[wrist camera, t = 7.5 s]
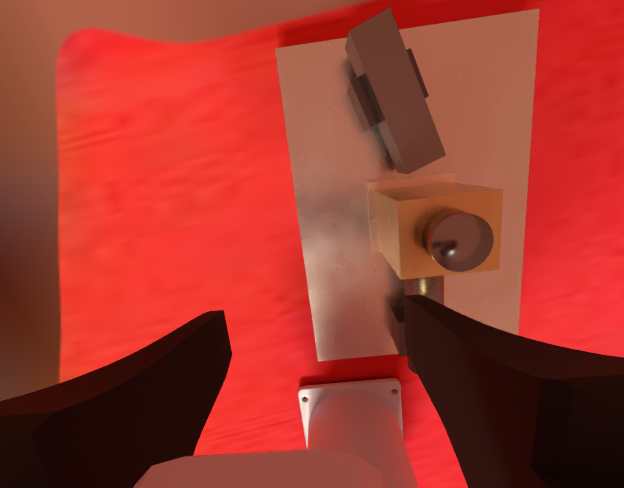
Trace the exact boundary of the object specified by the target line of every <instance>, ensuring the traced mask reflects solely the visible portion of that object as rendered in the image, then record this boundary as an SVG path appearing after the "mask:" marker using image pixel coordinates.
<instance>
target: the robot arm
mask: <svg viewBox="0 0 624 488" xmlns="http://www.w3.org/2000/svg"><path fill="white" fill-rule="evenodd" d="M404 328H405V344H406V347H407V350H408V353H409V355H410V358H411V361H412V364H413V366H414V368H415V370H416V372H417V374H418V376H419V378H420V379H421V381H422V383H423V385H424V387H425V389H426V391H427V393H428V395H429V397H430V399H431V401H432V403H433V404H434V406H435V408H436V410H437V412H438V414H439V416H440V418H441V420H442V422H443V425H444V427H445V429H446V431H447V434H448V436H449V439H450V441H451V444H452V446H453V449H454V451H455V454H456V456H457V459H458V461H459V464H460V467H461V469H462V472H463V474H464V477H465V480H466V482H467V485H468V488H624V358H622V357H615V356H607V355H601V354H596V353H590V352H585V351H580V350H574V349H569V348H565V347H560V346H556V345H552V344H548V343H544V342H540V341H536V340H532V339H528V338H525V337H522V336H518V335H515V334H512V333H509V332H506V331H503V330H500V329H497V328H494V327H492V326H489V325H486V324H484V323H481V322H479V321H477V320H474V319H472V318H470V317H467V316H465V315H463V314H461V313H459V312H456V311H454V310H452V309H450V308H448V307H446V306H444V305H442V304H440V303H438V302H436V301H434V300H432V299H430V298H428V297H425V296H423V295H420V294H418V295H405V296H404ZM231 357H232V351H231V346H230V341H229V336H228V331H227V325H226V320H225V315H224V310H220V311H209V312H206V313H204V314H202V315H200V316H198V317H196V318H195V319H193V320H191V321H189V322H188V323H186V324H184V325H183V326H181V327H179V328H178V329H176V330H174V331H173V332H171V333H169V334H168V335H166V336H164V337H162V338H161V339H159V340H157V341H155V342H153V343H152V344H150V345H148V346H146V347H145V348H143V349H141V350H139V351H137V352H135V353H133V354H131V355H129V356H127V357H124V358H122V359H120V360H118V361H116V362H114V363H111V364H109V365H107V366H104V367H102V368H99V369H97V370H94V371H92V372H89V373H87V374H84V375H82V376H79V377H77V378H74V379H71V380H68V381H65V382H63V383H60V384H57V385H54V386H51V387H48V388H45V389H41V390H38V391H35V392H32V393H28V394H25V395H22V396H18V397H14V398H11V399H7V400H3V401H0V488H419V487H418V484H417V480H416V477H415V474H414V471H413V468H412V464H411V461H410V458H409V455H408V451H407V448H406V445H405V442H404V438H403V420H402V401H401V385H400V382H399V380H398V379H396V378H386V379H375V380H364V381H353V382H341V383H330V384H319V385H307V386H301V387H300V388H299V389H298V397H299V403H300V409H301V415H302V422H303V428H304V434H305V440H306V446H307V449H304V450H287V451H269V452H252V453H234V454H217V455H199V456H193V454H194V451H195V448H196V445H197V442H198V440H199V437H200V435H201V432H202V430H203V428H204V425H205V423H206V421H207V419H208V416H209V414H210V412H211V410H212V407H213V405H214V403H215V401H216V398H217V396H218V394H219V392H220V389H221V387H222V385H223V382H224V380H225V378H226V375H227V371H228V368H229V364H230V361H231ZM393 389H396V390H395V391H392V390H393ZM303 397H307V398H303Z"/></svg>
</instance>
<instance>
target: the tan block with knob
mask: <svg viewBox="0 0 624 488" xmlns="http://www.w3.org/2000/svg"><path fill="white" fill-rule="evenodd" d="M374 197H375V213H376V229H377V245H378V249H379V250H380V251H381V253H382V254H383V256H384V257H385V258H386V260H387V261H388V263H389V264H390V265H391V267H392V268H393V270H394V271H395V272H396V274H397V275H398V277H399V278H400V279H401V280H403V279H413V278H423V277H433V276H443V275H453V274H463V273H472V272H482V271H492V270H499V267H500V247H501V227H502V207H503V189H498V188H491V187H483V186H476V185H468V184H461V183H453V182H442V183H434V184H425V185H417V186H408V187H400V188H391V189H383V190H374Z"/></svg>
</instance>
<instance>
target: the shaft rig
mask: <svg viewBox="0 0 624 488" xmlns="http://www.w3.org/2000/svg"><path fill="white" fill-rule="evenodd" d="M539 11H540V8H539V9H532V10H525V11H519V12H512V13H506V14H499V15H492V16H486V17H479V18H472V19H466V20H459V21H453V22H446V23H439V24H433V25H426V26H420V27H413V28H406V29H400V30H399V29H398V27H397V24H396V21H395V19H394V16H393V13H392V11H391V8H390V7H389V8H387V9H386V10H384V11H382V12H380V13H379V14H377V15H375V16H374V17H372V18H370V19H369V20H367V21H365V22H363V23H362V24H360V25H358V26H357V27H355V28H353V29H352V30H350V31H349V32H348V36H347V38H340V39H333V40H327V41H320V42H314V43H307V44H300V45H294V46H287V47H281V48H275V53H276V60H277V68H278V75H279V82H280V89H281V97H282V104H283V111H284V118H285V126H286V133H287V140H288V147H289V155H290V162H291V169H292V176H293V183H294V191H295V198H296V205H297V212H298V220H299V227H300V234H301V241H302V249H303V256H304V263H305V270H306V278H307V285H308V292H309V299H310V307H311V314H312V321H313V328H314V336H315V343H316V350H317V357H318V361H327V360H338V359H349V358H360V357H370V356H381V355H392V354H399V355H400V356H407V359H408V367H409V368H410V370H411V371H413V372H414V373H416V374H417V372H416V370H415V368H414V366H413V364H412V361H411V358H410V355H409V353H408V350H407V347H406V344H405V328H404V296H405V295H418V294H420V295H423V296H425V297H428V298H430V299H432V300H434V301H436V302H438V303H440V304H442V305H444V306H446V307H448V308H450V309H452V310H454V311H456V312H459V313H461V314H463V315H465V316H467V317H470V318H472V319H474V320H477V321H479V322H481V323H484V324H486V325H489V326H492V327H494V328H497V329H500V330H503V331H506V332H509V333H512V334H515V335H518V328H519V313H520V297H521V282H522V267H523V252H524V237H525V222H526V207H527V192H528V177H529V162H530V147H531V132H532V116H533V101H534V86H535V71H536V56H537V41H538V26H539ZM442 182H453V183H461V184H468V185H476V186H483V187H491V188H498V189H503V207H502V227H501V247H500V267H499V270H492V271H482V272H472V273H463V274H453V275H443V276H433V277H423V278H413V279H403V280H401V279H400V278H399V277H398V275H397V274H396V272H395V271H394V270H393V268H392V267H391V265H390V264H389V263H388V261H387V260H386V258H385V257H384V256H383V254H382V253H381V251H380V250H379V249H378V245H377V229H376V213H375V197H374V190H383V189H391V188H400V187H408V186H417V185H425V184H434V183H442Z"/></svg>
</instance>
